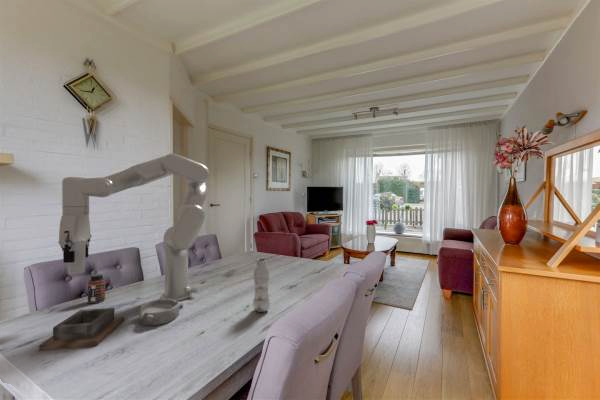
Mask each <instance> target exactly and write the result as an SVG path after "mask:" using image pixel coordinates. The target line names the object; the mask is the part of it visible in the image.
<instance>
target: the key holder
mask: <svg viewBox="0 0 600 400" xmlns="http://www.w3.org/2000/svg"><path fill="white" fill-rule="evenodd" d="M124 321H125V316H124V315H122V316H115V307H107V308H105V307H104V308H103V307H102V308H88V309H79V310H78V311H76V312H75V313H74V314H72V315H71V316H69V317H67V318H66V319H64V320H62V321H61V322H59V323H58V324H57V325H55V326H53V327H52V335H51V337H49V338H48V339H46V340H45V341H43V342H42V343H40V344H39V345H38V351H51V350H63V349H64V350H65V349H74V348H87V347H88V348H89V347H98V346H99V345H100V344H101V343H102V342H103V341H104V340H105V339H106V338H107V337H108V336H110V334H111V333H112V332H113V331H115V330H116V329H117V328H118V327H119V326H120V325H121V324H122V323H123V322H124Z"/></svg>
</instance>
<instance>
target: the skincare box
mask: <svg viewBox="0 0 600 400" xmlns="http://www.w3.org/2000/svg"><path fill="white" fill-rule="evenodd" d="M69 242H71V241H69ZM85 244H86V241H85V240H80V241H78V242H77V243H75V246H74V249H73V251H75V261H74V262H71V263H67V274H68V275H69V276H75V275H80V274H84V273H85V272H86V270H85V269H86V267H85V266H86V258H85ZM69 246H71V245H69Z"/></svg>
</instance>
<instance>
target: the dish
mask: <svg viewBox="0 0 600 400" xmlns="http://www.w3.org/2000/svg"><path fill="white" fill-rule="evenodd" d="M183 307H184V303H183V302H181V303H180V301H175V300H173V299H161V298H158V299H154V300H153V299H152V300H150V301H147V302H145V303H142V305H140V307H139V314H138V315H139V316H138V317H139V321H140V323H141V324H143V325H144V326H161V325H164V324H166V323H169V322H171V321H174V320H175V319H177V317H178V316H179V315H180V310H182V309H183Z"/></svg>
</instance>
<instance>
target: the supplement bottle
mask: <svg viewBox="0 0 600 400" xmlns="http://www.w3.org/2000/svg"><path fill="white" fill-rule="evenodd" d="M103 300H104V301H105V300H106V279H105V278H104V275H103V273H95V274H92V275H91V276H90V279H89V281H88V282H87V303H88V302H89V303H88V304H92V303H93V304H97V303H96V302H99V303H101V302H100V301H102V302H104V301H103Z"/></svg>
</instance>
